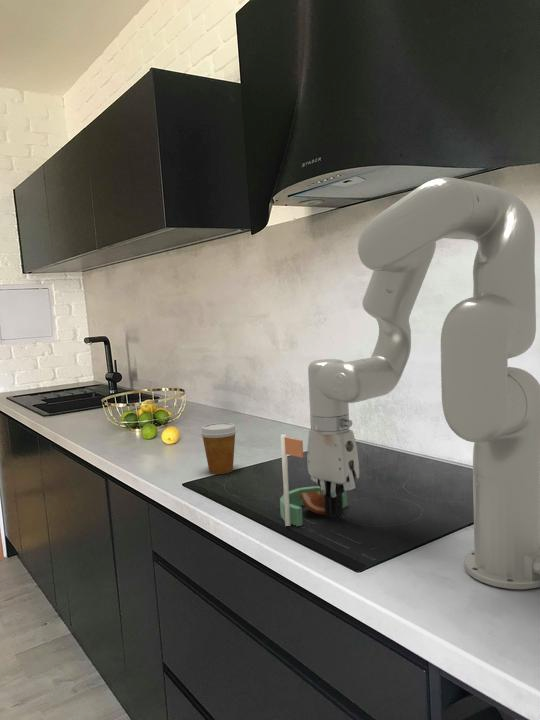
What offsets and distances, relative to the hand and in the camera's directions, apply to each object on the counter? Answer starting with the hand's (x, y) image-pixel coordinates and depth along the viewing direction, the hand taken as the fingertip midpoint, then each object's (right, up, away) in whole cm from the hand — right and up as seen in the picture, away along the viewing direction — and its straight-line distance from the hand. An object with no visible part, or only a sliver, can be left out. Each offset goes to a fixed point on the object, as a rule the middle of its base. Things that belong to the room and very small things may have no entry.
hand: (333, 514), depth 116 cm
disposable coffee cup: (-26, +1, +39) cm, 47 cm away
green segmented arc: (-4, -1, +4) cm, 6 cm away
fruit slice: (-2, -1, +5) cm, 5 cm away
